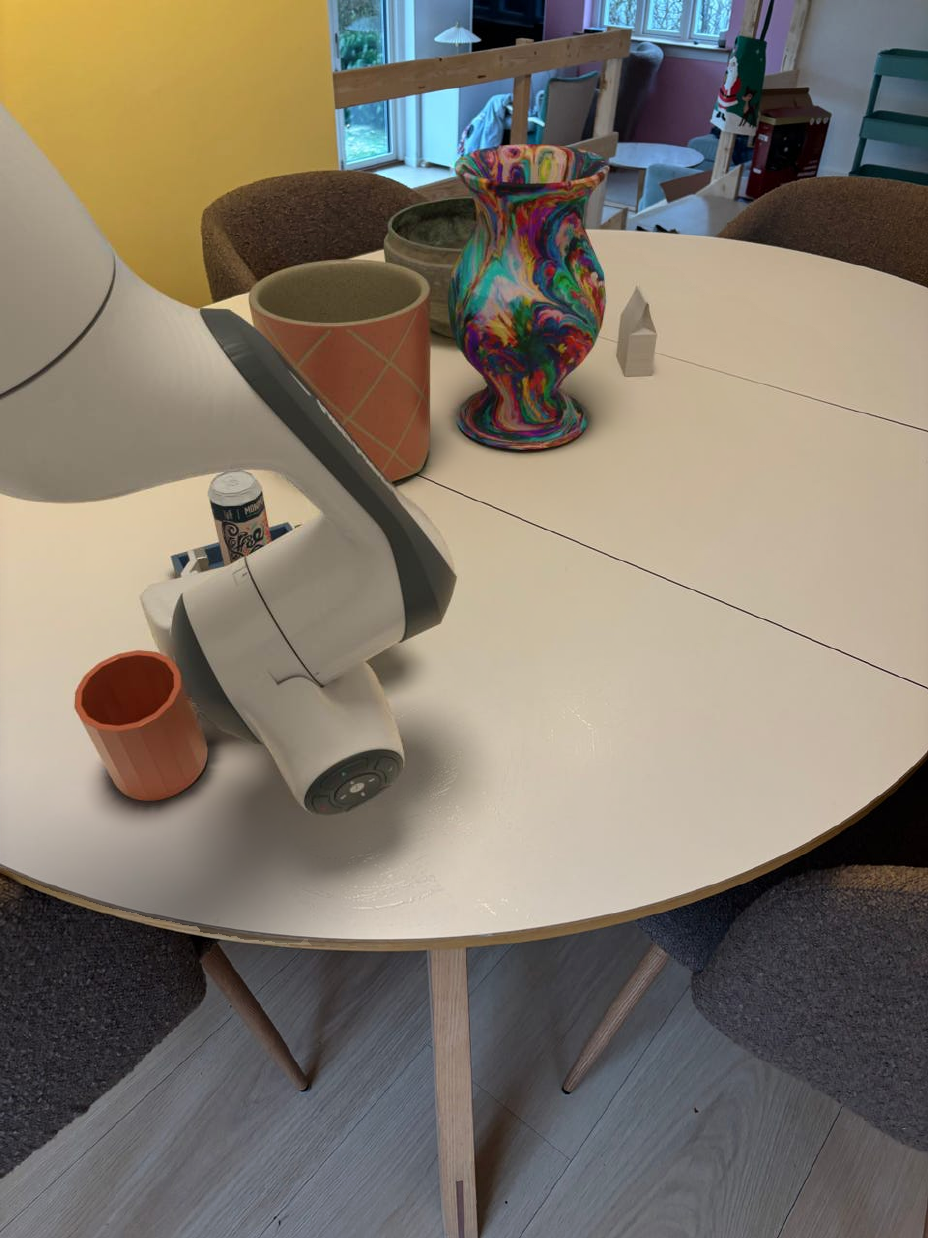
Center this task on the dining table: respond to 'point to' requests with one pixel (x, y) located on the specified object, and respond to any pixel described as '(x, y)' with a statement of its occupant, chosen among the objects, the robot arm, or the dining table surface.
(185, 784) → the terracotta cup
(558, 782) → the dining table surface
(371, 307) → the planter
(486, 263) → the vase
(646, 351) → the gable top carton
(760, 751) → the dining table surface
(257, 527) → the beer can
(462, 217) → the bowl
